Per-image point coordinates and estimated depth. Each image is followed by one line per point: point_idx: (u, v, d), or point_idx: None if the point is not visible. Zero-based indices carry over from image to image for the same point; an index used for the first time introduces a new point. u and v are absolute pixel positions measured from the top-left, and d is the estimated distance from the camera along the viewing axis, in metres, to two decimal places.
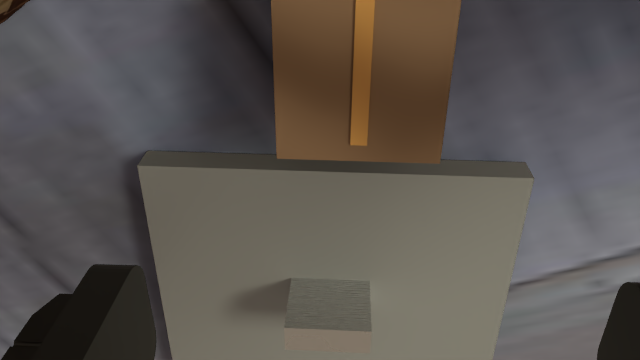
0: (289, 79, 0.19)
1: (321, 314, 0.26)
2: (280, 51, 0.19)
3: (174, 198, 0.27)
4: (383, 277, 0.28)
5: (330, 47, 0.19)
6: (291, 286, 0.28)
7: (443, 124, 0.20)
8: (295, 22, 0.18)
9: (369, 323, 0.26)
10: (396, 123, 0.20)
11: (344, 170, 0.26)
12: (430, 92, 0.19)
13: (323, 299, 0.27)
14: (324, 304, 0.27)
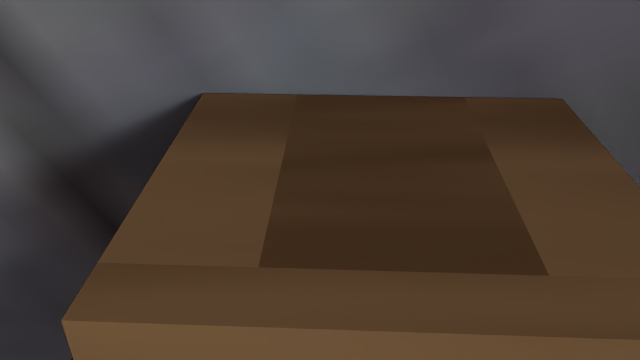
0: None
1: None
2: None
3: None
4: None
5: None
6: None
7: None
8: None
9: None
10: None
11: None
12: None
13: None
14: None
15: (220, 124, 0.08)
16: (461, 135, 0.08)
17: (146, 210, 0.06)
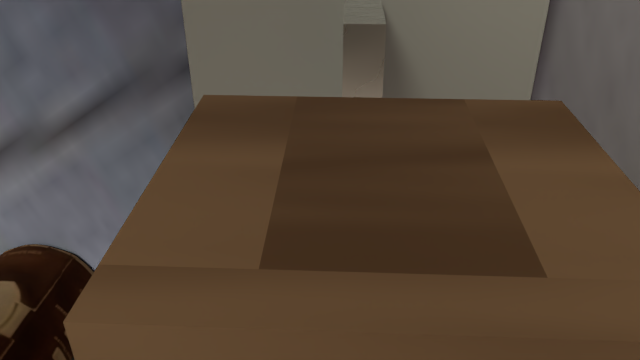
0: None
1: None
2: None
3: None
4: None
5: None
6: None
7: None
8: None
9: (343, 22, 0.19)
10: None
11: None
12: None
13: None
14: None
15: (221, 126, 0.08)
16: (461, 136, 0.08)
17: (147, 212, 0.06)
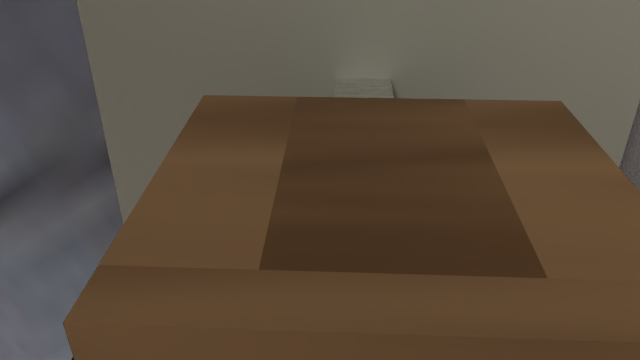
0: None
1: None
2: None
3: None
4: (324, 52, 0.14)
5: None
6: None
7: None
8: None
9: None
10: None
11: None
12: None
13: None
14: None
15: (220, 127, 0.08)
16: (461, 137, 0.08)
17: (147, 213, 0.06)
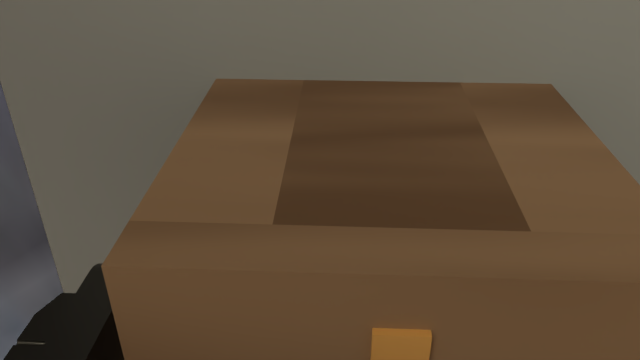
0: None
1: None
2: None
3: None
4: None
5: None
6: None
7: None
8: None
9: None
10: None
11: None
12: None
13: None
14: None
15: (234, 106, 0.09)
16: (456, 114, 0.09)
17: (169, 178, 0.07)
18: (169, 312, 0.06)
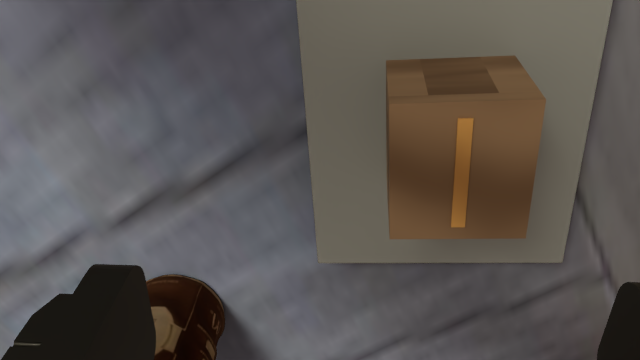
0: (402, 180, 0.24)
1: None
2: (395, 160, 0.23)
3: (346, 242, 0.32)
4: None
5: (436, 155, 0.23)
6: None
7: (528, 208, 0.24)
8: (408, 139, 0.23)
9: None
10: (489, 209, 0.24)
11: None
12: (518, 185, 0.24)
13: None
14: None
15: (398, 68, 0.26)
16: (478, 67, 0.25)
17: (392, 87, 0.24)
18: (404, 117, 0.22)
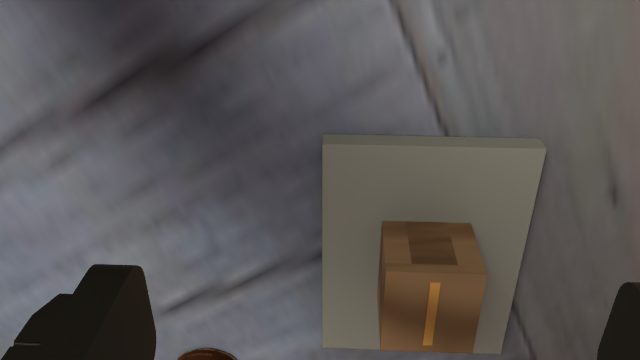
0: (391, 315, 0.35)
1: None
2: (387, 303, 0.35)
3: (344, 334, 0.44)
4: None
5: (415, 302, 0.35)
6: None
7: (474, 336, 0.36)
8: (397, 291, 0.34)
9: None
10: (448, 335, 0.36)
11: None
12: (468, 322, 0.35)
13: None
14: None
15: (391, 231, 0.37)
16: (445, 234, 0.37)
17: (387, 253, 0.35)
18: (395, 279, 0.34)
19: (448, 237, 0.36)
